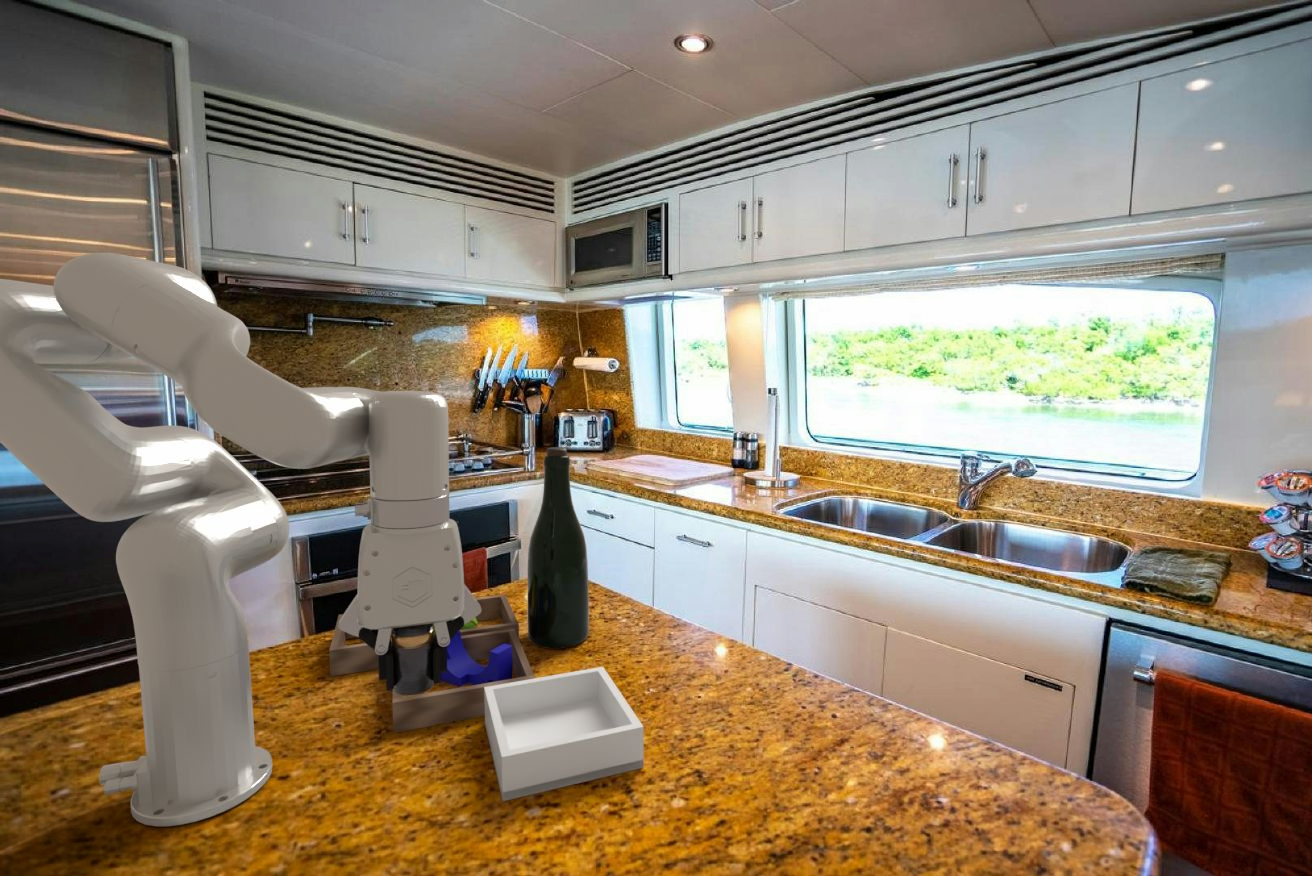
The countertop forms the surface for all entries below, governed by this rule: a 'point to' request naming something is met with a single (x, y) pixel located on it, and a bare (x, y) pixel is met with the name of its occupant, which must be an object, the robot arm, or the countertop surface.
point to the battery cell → (413, 659)
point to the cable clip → (476, 665)
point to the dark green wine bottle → (557, 563)
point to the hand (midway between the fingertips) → (413, 679)
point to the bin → (560, 731)
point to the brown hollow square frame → (459, 700)
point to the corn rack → (366, 657)
